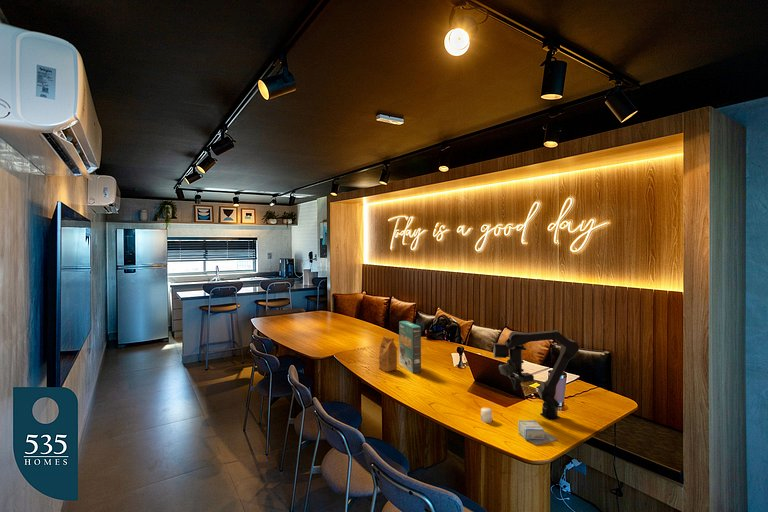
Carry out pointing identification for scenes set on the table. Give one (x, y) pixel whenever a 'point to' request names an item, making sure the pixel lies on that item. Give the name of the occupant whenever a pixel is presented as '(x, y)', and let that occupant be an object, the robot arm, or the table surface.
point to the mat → (546, 439)
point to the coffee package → (387, 355)
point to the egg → (486, 415)
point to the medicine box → (531, 430)
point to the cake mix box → (410, 346)
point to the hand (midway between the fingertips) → (515, 389)
